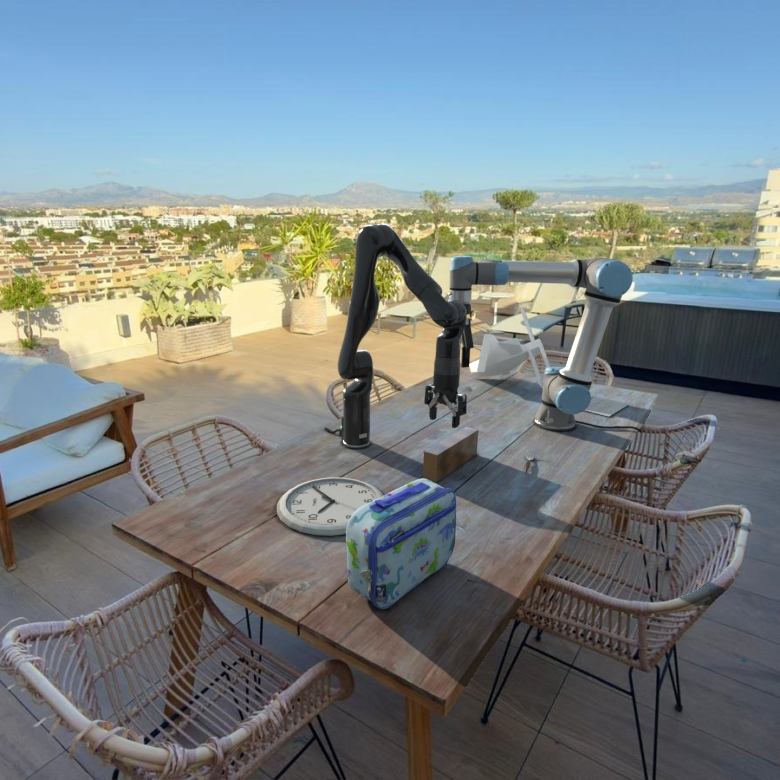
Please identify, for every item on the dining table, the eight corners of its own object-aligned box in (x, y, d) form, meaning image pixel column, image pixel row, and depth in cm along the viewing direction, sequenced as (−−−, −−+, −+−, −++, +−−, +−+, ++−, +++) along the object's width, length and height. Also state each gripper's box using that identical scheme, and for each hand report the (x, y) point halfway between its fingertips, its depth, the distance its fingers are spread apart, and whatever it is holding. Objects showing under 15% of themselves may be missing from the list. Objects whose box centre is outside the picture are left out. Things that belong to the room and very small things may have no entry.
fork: (521, 473, 163) (522, 467, 162) (527, 453, 177) (527, 448, 177) (530, 474, 162) (530, 468, 162) (535, 454, 176) (535, 449, 176)
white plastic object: (490, 419, 265) (470, 397, 240) (471, 347, 287) (451, 319, 262) (561, 395, 253) (548, 369, 228) (536, 321, 275) (521, 290, 250)
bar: (464, 450, 179) (466, 426, 177) (476, 454, 177) (478, 429, 174) (422, 478, 159) (423, 451, 157) (435, 482, 157) (437, 455, 154)
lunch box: (375, 622, 100) (376, 527, 94) (339, 595, 108) (338, 505, 101) (459, 565, 118) (465, 481, 112) (424, 545, 125) (427, 465, 119)
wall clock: (392, 527, 129) (268, 531, 127) (391, 533, 130) (269, 537, 127) (383, 473, 158) (282, 475, 155) (383, 478, 158) (282, 480, 156)
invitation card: (608, 416, 214) (573, 407, 224) (608, 416, 214) (573, 408, 224) (628, 404, 229) (594, 396, 238) (628, 405, 229) (594, 397, 238)
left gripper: (419, 367, 153) (417, 419, 158) (457, 378, 143) (454, 433, 148) (436, 363, 158) (434, 414, 163) (474, 373, 148) (470, 426, 153)
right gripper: (436, 298, 190) (435, 355, 196) (464, 308, 167) (461, 372, 173) (456, 297, 192) (454, 353, 198) (485, 307, 169) (482, 370, 175)
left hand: (443, 423), depth 155 cm, fingers open, 8 cm apart
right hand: (457, 362), depth 186 cm, fingers open, 13 cm apart
